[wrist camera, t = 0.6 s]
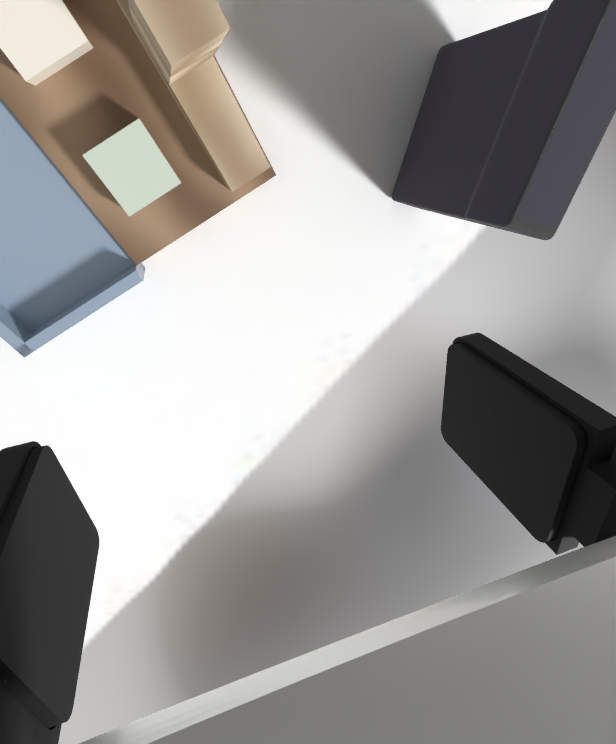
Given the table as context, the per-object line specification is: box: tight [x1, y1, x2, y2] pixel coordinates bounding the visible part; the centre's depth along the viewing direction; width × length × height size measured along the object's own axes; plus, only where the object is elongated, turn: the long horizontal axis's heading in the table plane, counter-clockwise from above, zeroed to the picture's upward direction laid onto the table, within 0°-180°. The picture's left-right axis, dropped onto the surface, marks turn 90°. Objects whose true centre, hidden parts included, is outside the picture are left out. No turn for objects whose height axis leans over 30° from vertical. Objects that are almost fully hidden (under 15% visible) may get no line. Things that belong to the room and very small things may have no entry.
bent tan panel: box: [116, 0, 271, 192], centre depth 21 cm, size 3×16×10 cm, turn 28°
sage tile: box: [82, 119, 181, 217], centre depth 26 cm, size 4×4×2 cm
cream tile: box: [0, 0, 93, 86], centre depth 22 cm, size 4×4×2 cm
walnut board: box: [0, 0, 276, 265], centre depth 26 cm, size 12×18×2 cm, turn 28°
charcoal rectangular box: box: [392, 0, 616, 240], centre depth 27 cm, size 11×4×15 cm, turn 163°
